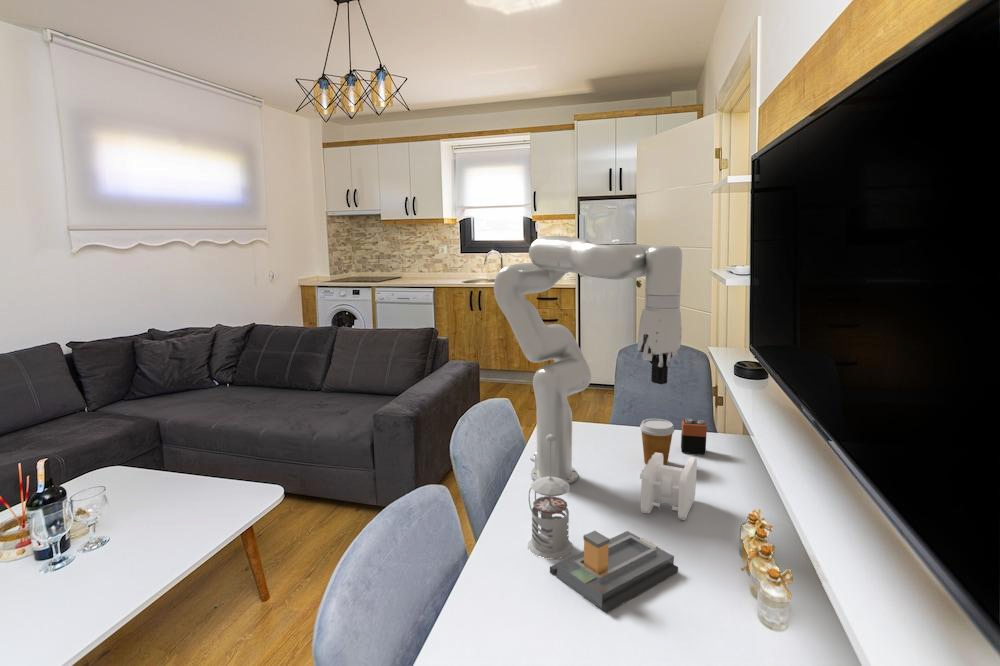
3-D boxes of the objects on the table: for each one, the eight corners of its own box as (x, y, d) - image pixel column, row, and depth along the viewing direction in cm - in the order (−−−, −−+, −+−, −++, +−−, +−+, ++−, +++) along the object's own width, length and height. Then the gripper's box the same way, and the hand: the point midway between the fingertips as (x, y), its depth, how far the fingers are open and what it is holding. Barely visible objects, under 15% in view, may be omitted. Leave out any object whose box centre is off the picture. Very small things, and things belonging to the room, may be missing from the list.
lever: (583, 566, 109) (583, 535, 108) (594, 560, 111) (594, 530, 109) (597, 575, 106) (598, 544, 105) (608, 570, 108) (609, 538, 106)
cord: (549, 572, 113) (549, 566, 112) (619, 539, 124) (619, 534, 124) (553, 575, 112) (553, 569, 111) (623, 541, 123) (623, 536, 123)
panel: (556, 577, 111) (556, 559, 110) (627, 543, 123) (628, 526, 122) (601, 610, 101) (601, 589, 101) (674, 569, 113) (674, 551, 112)
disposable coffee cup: (676, 461, 166) (678, 421, 163) (667, 472, 158) (669, 431, 155) (644, 454, 171) (646, 416, 168) (633, 465, 163) (635, 425, 160)
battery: (680, 448, 175) (682, 416, 174) (703, 449, 174) (705, 418, 172) (681, 453, 171) (683, 421, 169) (705, 455, 170) (707, 423, 168)
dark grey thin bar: (601, 609, 101) (601, 603, 101) (672, 569, 113) (673, 564, 113) (606, 613, 101) (606, 606, 100) (677, 572, 112) (678, 567, 112)
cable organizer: (684, 527, 129) (686, 479, 127) (637, 516, 134) (639, 470, 132) (695, 499, 142) (698, 455, 140) (653, 491, 147) (654, 448, 145)
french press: (545, 564, 115) (545, 447, 111) (513, 538, 125) (512, 430, 121) (582, 549, 121) (584, 437, 116) (549, 526, 130) (549, 421, 126)
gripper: (669, 298, 133) (666, 374, 137) (626, 303, 125) (623, 384, 128) (697, 301, 127) (693, 380, 131) (653, 307, 119) (650, 392, 122)
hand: (659, 382), depth 129 cm, fingers closed
